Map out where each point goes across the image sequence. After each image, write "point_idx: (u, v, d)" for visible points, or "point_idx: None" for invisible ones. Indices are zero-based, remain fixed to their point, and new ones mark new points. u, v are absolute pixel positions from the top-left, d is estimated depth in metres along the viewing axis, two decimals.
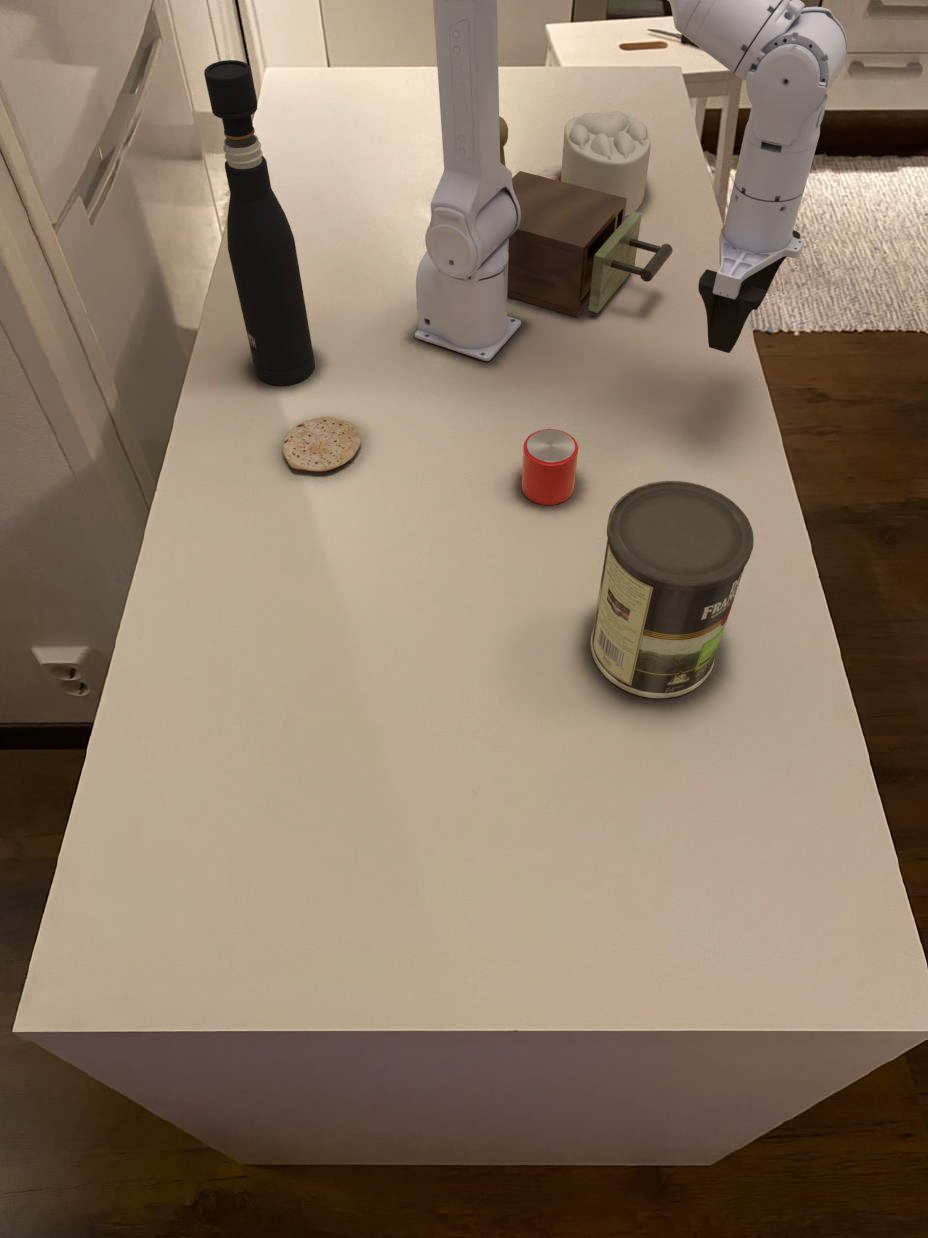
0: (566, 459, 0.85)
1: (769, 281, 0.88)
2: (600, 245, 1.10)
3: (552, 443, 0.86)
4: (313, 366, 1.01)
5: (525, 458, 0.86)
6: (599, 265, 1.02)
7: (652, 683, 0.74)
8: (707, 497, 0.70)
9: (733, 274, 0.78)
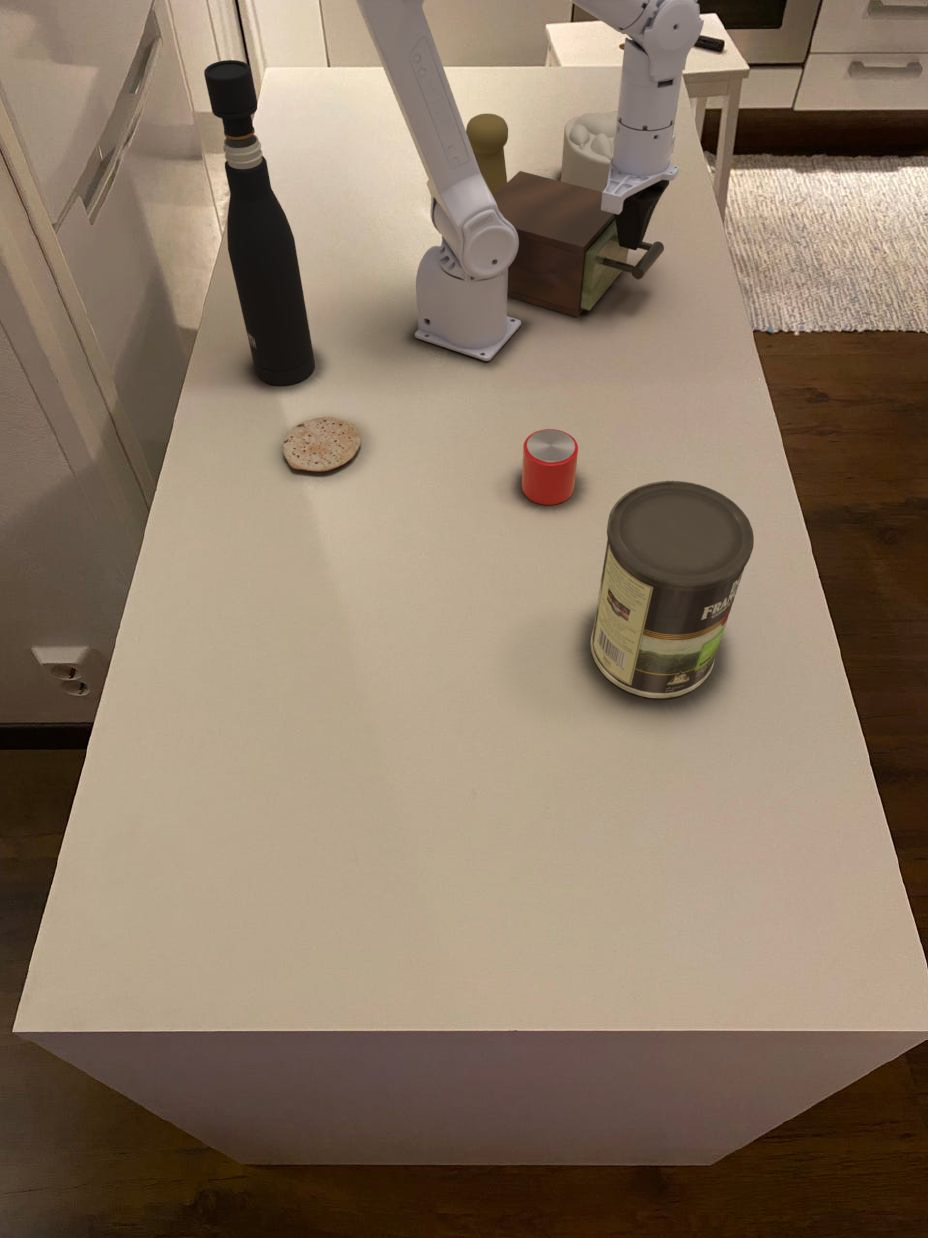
0: (566, 459, 0.85)
1: (646, 221, 1.01)
2: (592, 243, 1.10)
3: (552, 443, 0.86)
4: (313, 366, 1.01)
5: (525, 458, 0.86)
6: (591, 262, 1.02)
7: (652, 683, 0.74)
8: (707, 497, 0.70)
9: (616, 193, 0.94)
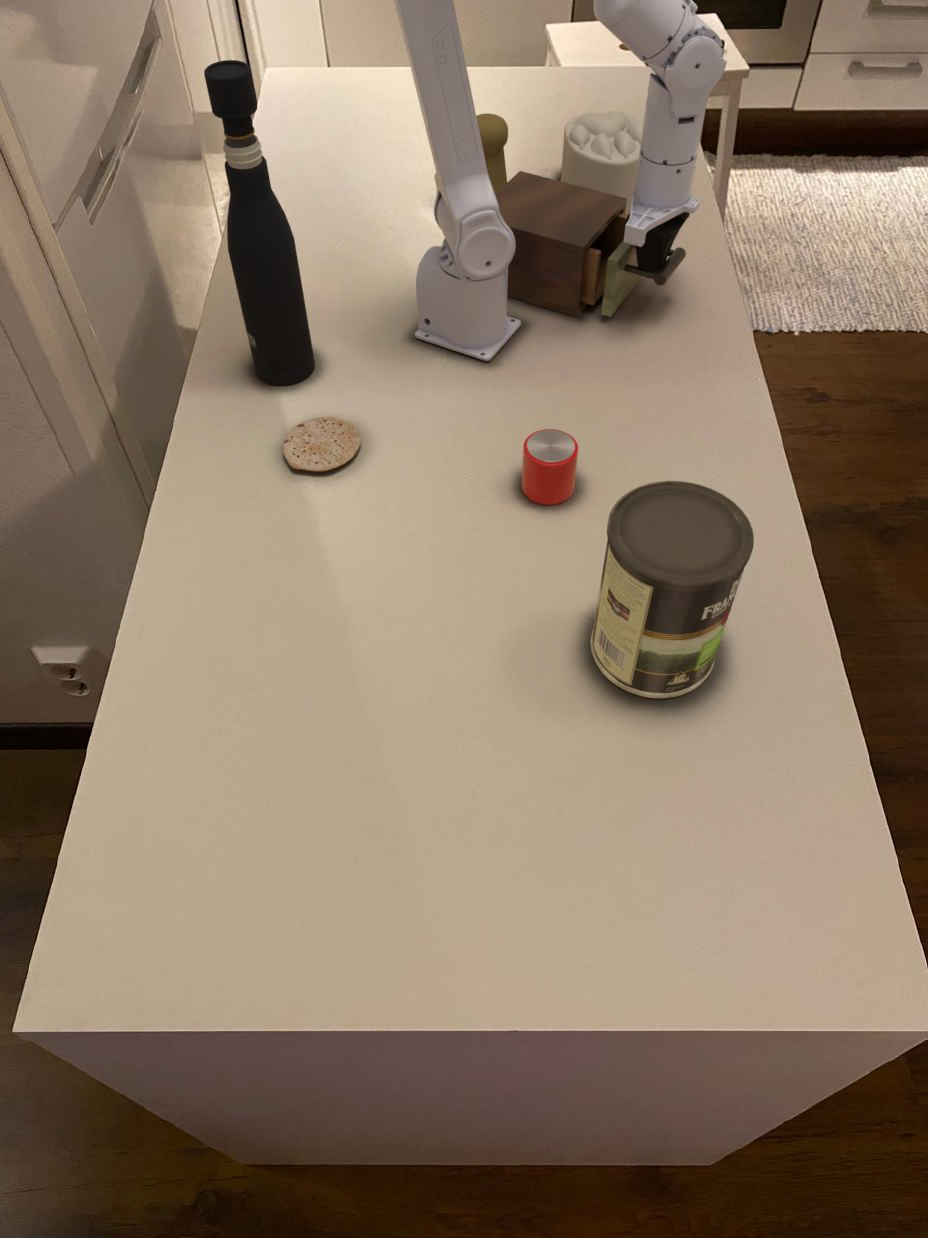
0: (566, 459, 0.85)
1: (666, 251, 1.03)
2: (612, 248, 1.10)
3: (552, 443, 0.86)
4: (313, 366, 1.01)
5: (525, 458, 0.86)
6: (613, 268, 1.01)
7: (652, 683, 0.74)
8: (707, 497, 0.70)
9: (639, 226, 0.95)
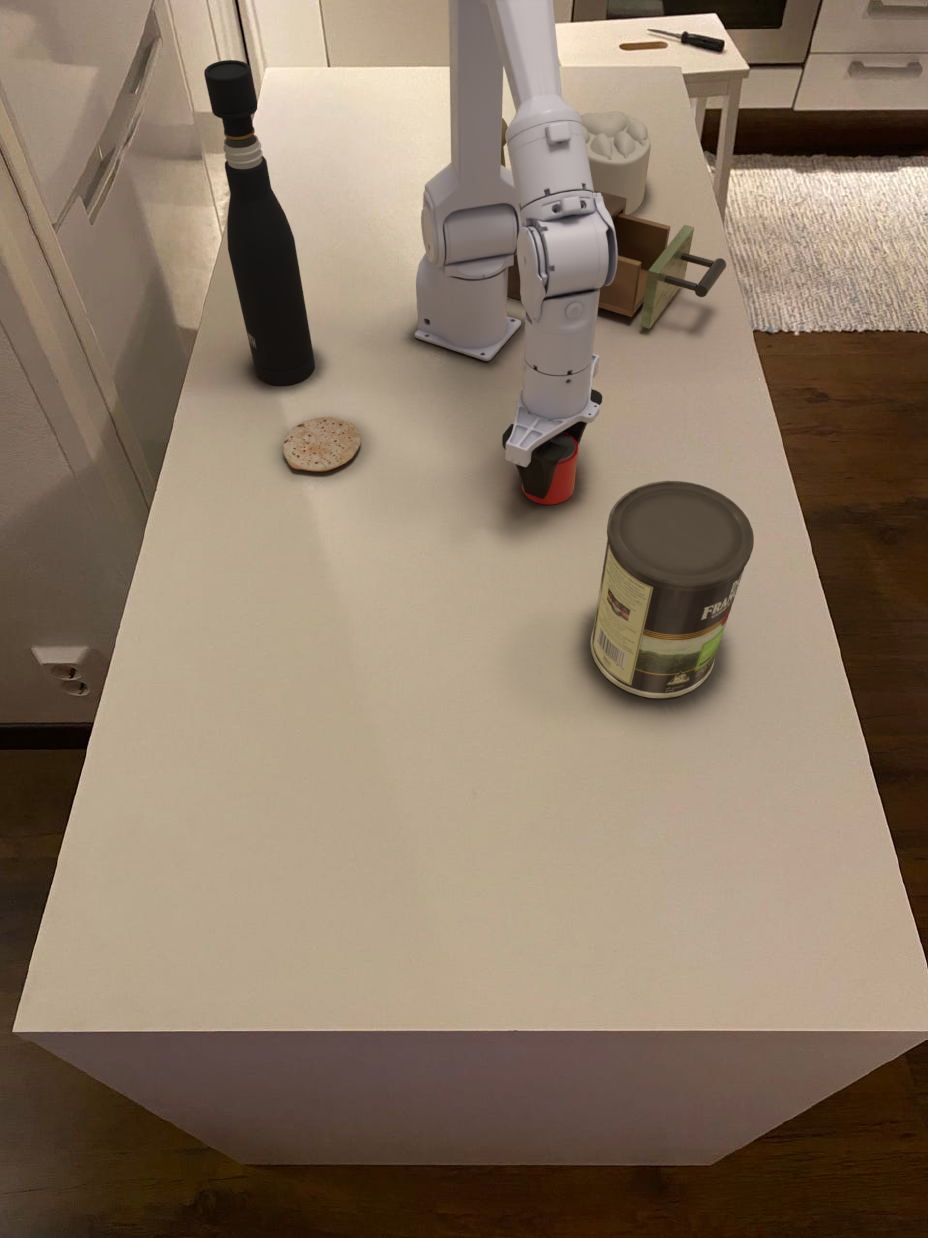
0: (566, 459, 0.85)
1: (577, 438, 0.88)
2: (650, 259, 1.08)
3: None
4: (313, 366, 1.01)
5: None
6: (653, 280, 1.00)
7: (652, 683, 0.74)
8: (707, 497, 0.70)
9: (523, 444, 0.79)
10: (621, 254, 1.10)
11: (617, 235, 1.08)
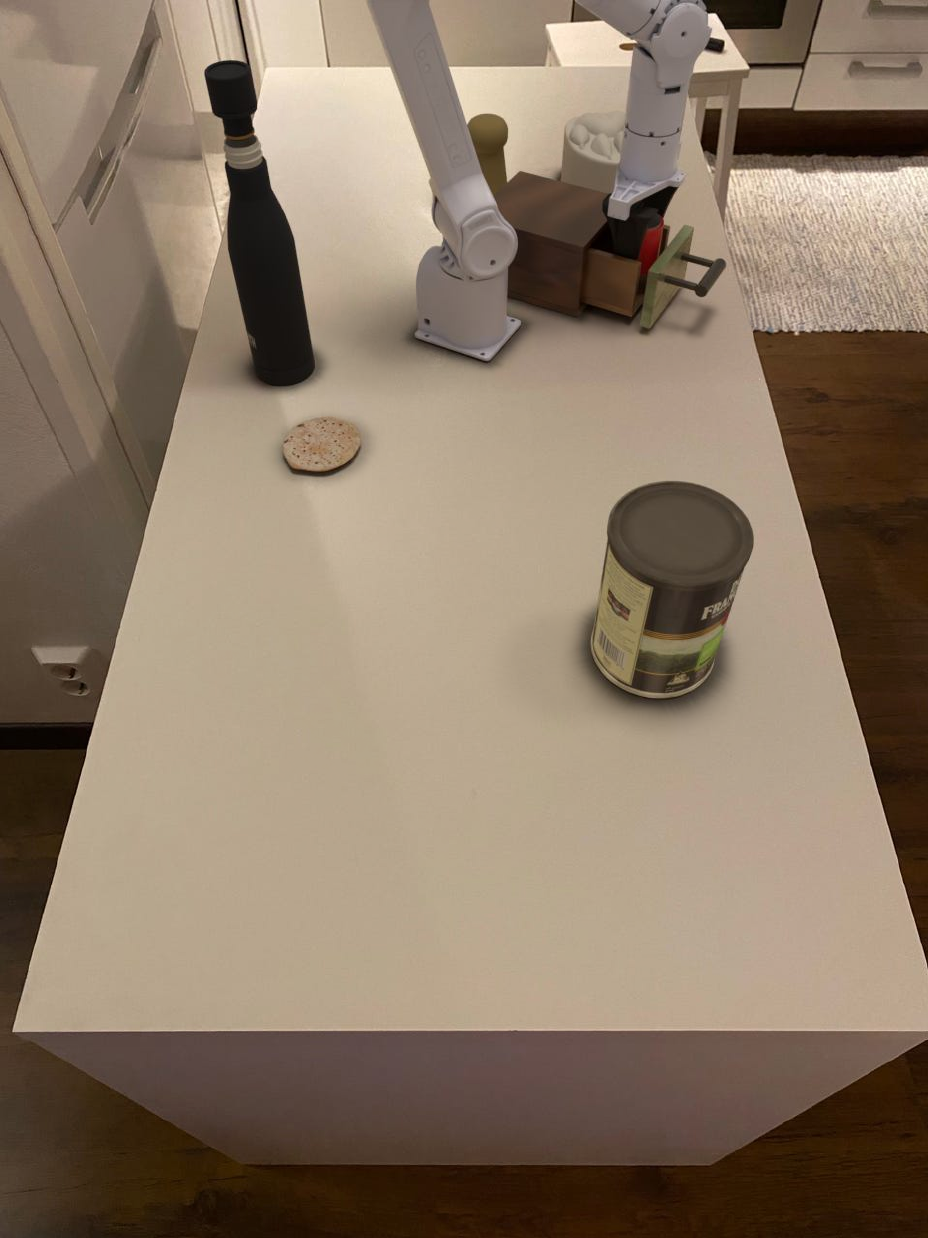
0: (654, 228, 1.00)
1: None
2: None
3: None
4: (313, 366, 1.01)
5: None
6: (653, 280, 1.00)
7: (652, 683, 0.74)
8: (707, 497, 0.70)
9: (623, 199, 0.94)
10: None
11: None
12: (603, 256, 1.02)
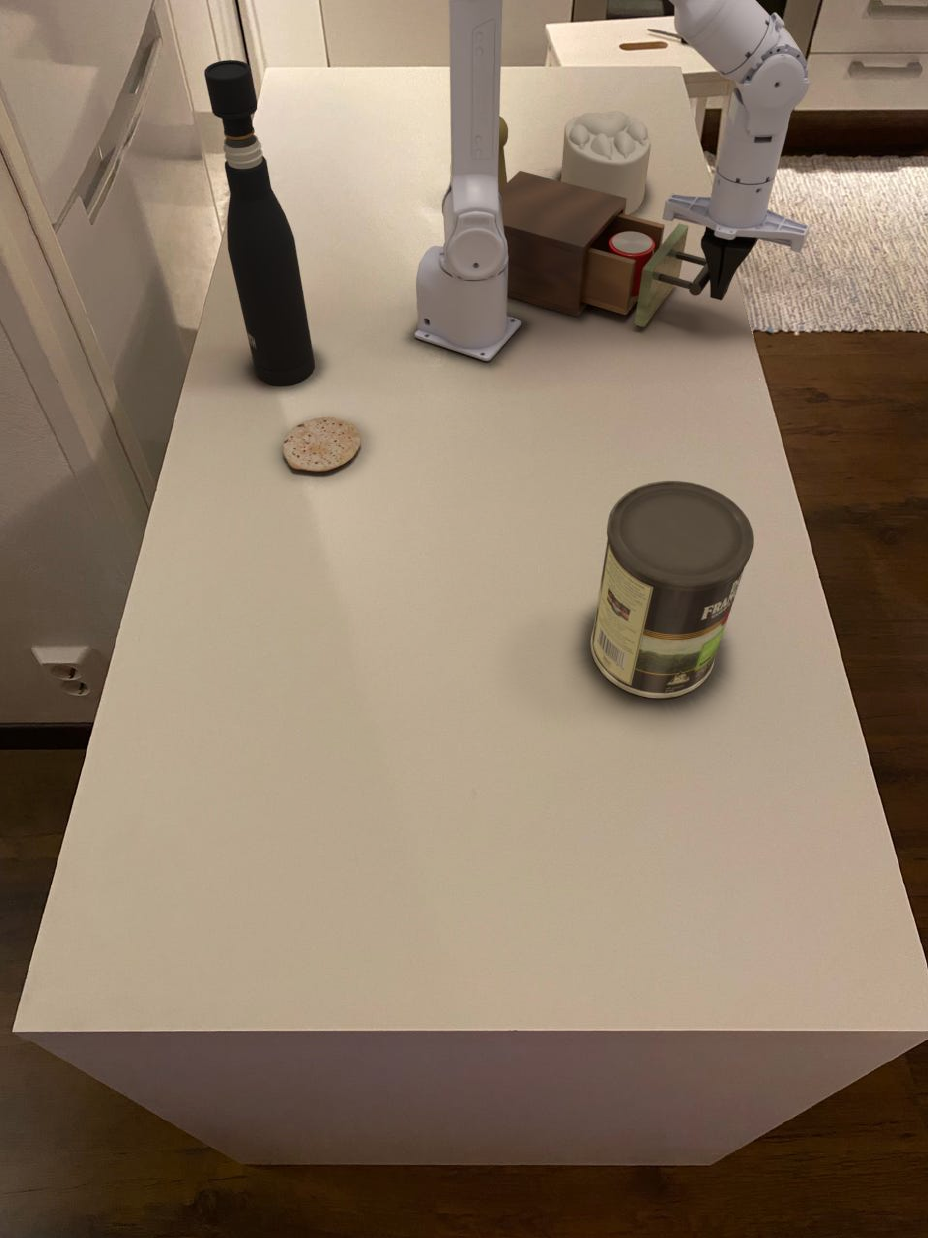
0: (645, 251, 1.03)
1: (721, 275, 1.00)
2: None
3: (633, 240, 1.04)
4: (313, 366, 1.01)
5: (610, 252, 1.04)
6: (648, 278, 1.00)
7: (652, 683, 0.74)
8: (707, 497, 0.70)
9: (675, 202, 0.98)
10: None
11: (612, 234, 1.08)
12: (598, 255, 1.02)
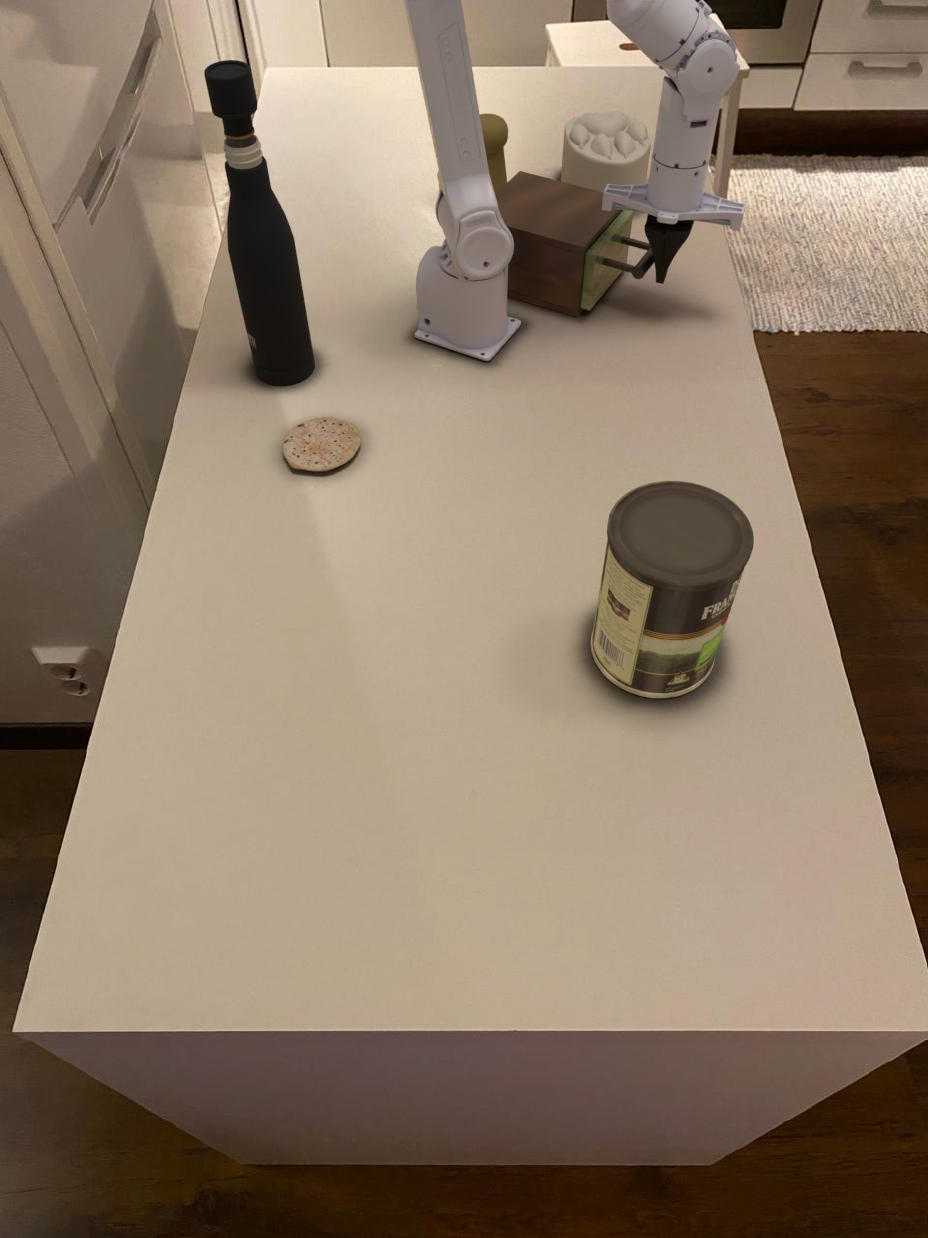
0: None
1: (661, 259, 1.02)
2: None
3: None
4: (313, 366, 1.01)
5: None
6: (591, 262, 1.02)
7: (652, 683, 0.74)
8: (707, 497, 0.70)
9: (612, 192, 0.99)
10: None
11: None
12: None
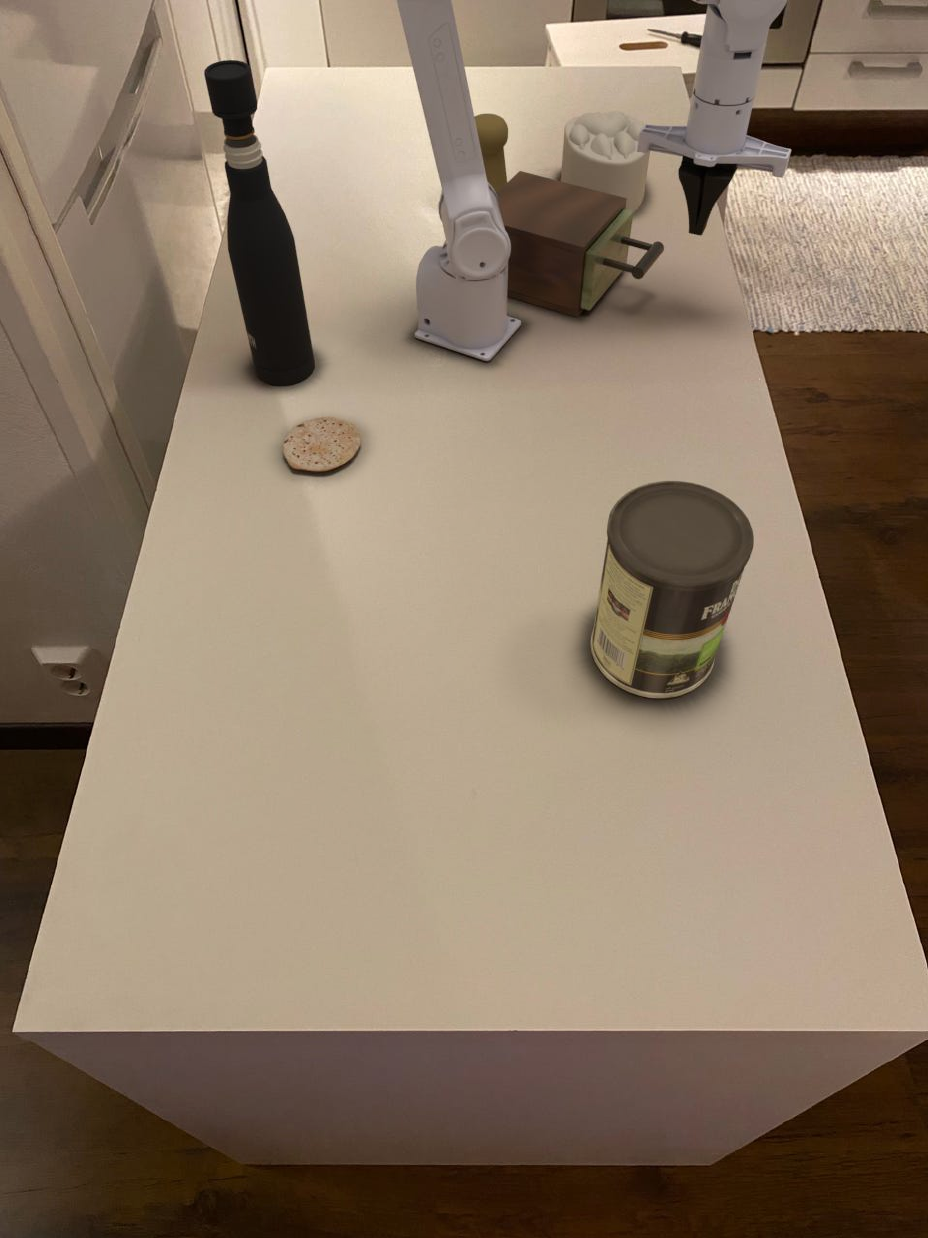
0: None
1: (700, 208, 0.96)
2: None
3: None
4: (313, 366, 1.01)
5: None
6: (591, 262, 1.02)
7: (652, 683, 0.74)
8: (707, 497, 0.70)
9: (649, 133, 0.93)
10: None
11: None
12: None
